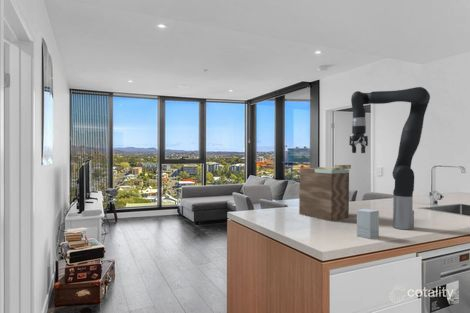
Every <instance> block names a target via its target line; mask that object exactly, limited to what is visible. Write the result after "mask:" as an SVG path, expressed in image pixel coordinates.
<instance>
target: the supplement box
mask: <svg viewBox="0 0 470 313" xmlns="http://www.w3.org/2000/svg"><path fill="white" fill-rule="evenodd" d="M379 213H380V212H379V210H378V209H377V210H376V209H370V208H362V209H361V208H360V209H357V210H356V237H362V238H365V239H369V240H370V239H375V238H379V236H380V235H379V234H380V233H379V232H380V229H379V228H380V226H379V225H380V224H379V223H380V222H379V221H380V220H379V219H380V218H379V217H380V216H379V215H380V214H379Z"/></svg>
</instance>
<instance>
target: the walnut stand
mask: <svg viewBox="0 0 470 313" xmlns="http://www.w3.org/2000/svg"><path fill="white" fill-rule="evenodd" d="M298 190H299V198H298V200H299V201H298V202H299V203H298V206H299V209H298V210H299V212H298V213H299V214H298V215H302V216H306V217H309V218H313V219H320V220H324V221H327V222H336V221H342V220H348V219H349V214H350V213H349V212H350V209H349V208H350V206H349V205H350V200H349V199H350V169H344V170H324V169H317V167H303V168H302V167H300V168H299V189H298Z"/></svg>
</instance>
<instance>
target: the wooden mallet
mask: <svg viewBox="0 0 470 313" xmlns="http://www.w3.org/2000/svg"><path fill="white" fill-rule="evenodd" d="M316 168H317V169H324V170H344V169H348V170H351V169H352V165H351V164H335V165H334V166H317V167H316Z"/></svg>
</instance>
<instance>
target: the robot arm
mask: <svg viewBox="0 0 470 313" xmlns="http://www.w3.org/2000/svg"><path fill="white" fill-rule="evenodd" d="M350 99H351V100H350V101H351V108H352V122H351V128H352V129H351V133H352V134H350V135H349V142H348V143H349V144H348V145H349V146H351V152H352V154H357V145H358V144H359V145H360V148H361V149H360V153H361V154H365V153H366V147H367V146H369V139H368V137H369V136H368V135H365V134H366V132H367V131H366V130H367V125H366V124H367V121H366V108H365V107H364V105H370V104H371V105H373V104H374V105H381V104H383V105H384V104H391V103H397V102H399V103H400V102H403V103H410V110H409V114H408V117H407V119H406V120H405V123H404V126H403V128H402V131H401V135H400V140H399V141H400V142H399V146H398V153H397V158H396V161H395V164H394V167H393V170H392V178H393V180H394V187H393V188H394V189H393V191H392V206H393V207H392V227H393V228H394V229H398V230H412V229H414V228H415V210H413V194H414V191H415V172H414V170H413V169H412V161H413V158H414V155H415V153H416V152H417V150H418V147H419V146H420V142H421V137H422V133H423V128H424V127H423V126H424V119H425V114H426V111H427V108H428V105H429V103H430V99H431V95H430V93H429V91H428V90H427V89H426V88H425V87H422V86H417V87H416V86H415V87H410V88H406V89H401V90H400V89H398V90H382V91H381V90H380V91H379V90H378V91H371V92H362V91H360V90H359V91H358V90H357V91H355V92H353V93H352V95H351V98H350Z"/></svg>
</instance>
